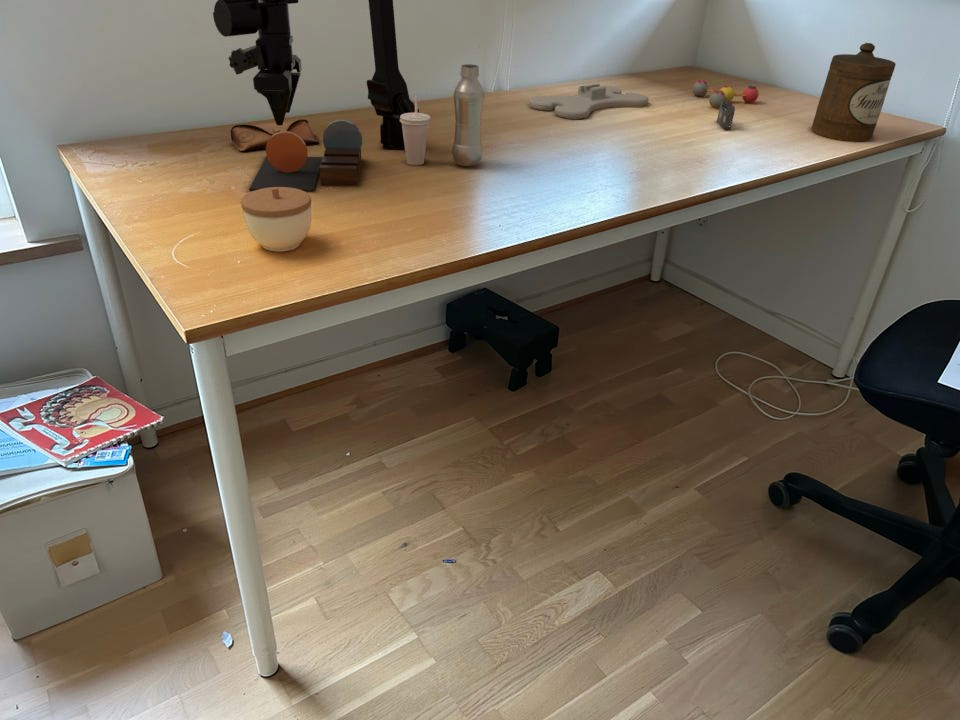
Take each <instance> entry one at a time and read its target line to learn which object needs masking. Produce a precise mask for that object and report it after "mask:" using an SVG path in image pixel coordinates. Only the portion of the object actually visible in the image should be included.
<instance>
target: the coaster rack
mask: <svg viewBox="0 0 960 720" xmlns="http://www.w3.org/2000/svg"><path fill="white" fill-rule="evenodd" d="M322 157H323V158H322V161H321V165H320V168H319V169H320V172H319V180H320V186H348V187H349V186H350V187H351V186H353V187H354V186H355V187H356V186H358V182H359V176H360V171H361V165H362V160H363V159H362V148H361V149H348V148H326V149H325V148H324V152H323V156H322Z"/></svg>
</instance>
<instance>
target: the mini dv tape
mask: <svg viewBox="0 0 960 720" xmlns="http://www.w3.org/2000/svg"><path fill="white" fill-rule="evenodd" d="M735 111H736V107H735V106H734V105H733V104H732V103H731V101H730V102H729V101H727V100H726V99H721V103H720V108H718V113H717V118H716V124H718V125H719V126H720V127H721V128H722V129H723V130H724V131H731V129H732V125H733V122H734V121H733V120H734V116H735ZM729 126H730V127H729Z"/></svg>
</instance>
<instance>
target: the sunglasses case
mask: <svg viewBox="0 0 960 720" xmlns="http://www.w3.org/2000/svg"><path fill="white" fill-rule="evenodd" d="M281 131H289V132H293V133H295V134H297V135H298V136H300V137H301V138H302V139H303V141H304V142H305V144H306V145H310V144H314V143H319V141H318V140H317V139H316V137H315V136H314V133H313V131H312V128H311V126H310V125H309V121H308V120H307V119H304V118H303V119H302V118H301V119H296V120H291V121H284V122H283V125H277V124H276V122H265V123H263V122H262V123H255V124H249V123H248V124H247V123H243V124H242V123H241V124H236V125H233V126H232V127H231V129H230V140H231V143H232V145H233V146H234V148H235V149H237V150H238V151H240V152H245V151H252V150H266V145H267V143H268V141H269V139H270V138H271V137H272V136H273V135H274V134H275V133H277V132H281Z"/></svg>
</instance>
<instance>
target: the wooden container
mask: <svg viewBox="0 0 960 720" xmlns="http://www.w3.org/2000/svg"><path fill="white" fill-rule="evenodd" d="M859 50H860V51H859V52H858V53H856V54H852V53H851V54H850V53H849V54H848V53H847V54H846V53H844V54H843V53H841V54H836V55H832V58H831V60H830V65H829V69H828V72H827V74H826V78H825V82H824V85H823V89H822V91H821V94H820V97H819V100H818V103H817V107H816V110H815V113H814V114H815V115H814V117H813V121H812V125H811V131H812V132H813V133H815V134H817V135H818V136H822V137H824V138H828V139H831V140H838V141H844V142H866V141H869V140H871V139H872V138H873V135H874V132H875V130H876V127H877V123H878V121H879V118H880V116H881V112H882V109H883V106H884V103H885V99H886V96H887V93H888V90H889V86H890V83H891V80H892V77H893V74H894V71H895V68H896V65H897V63H896V62H895V61H893V60H890V59H887V58H882V57H879V56H878V57H877V56H875V55H874V53H873V52H874V51H875V50H876V46H875V45H874V44H873V43H871V42H864V43H862V44H861V45H860V46H859Z"/></svg>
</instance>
